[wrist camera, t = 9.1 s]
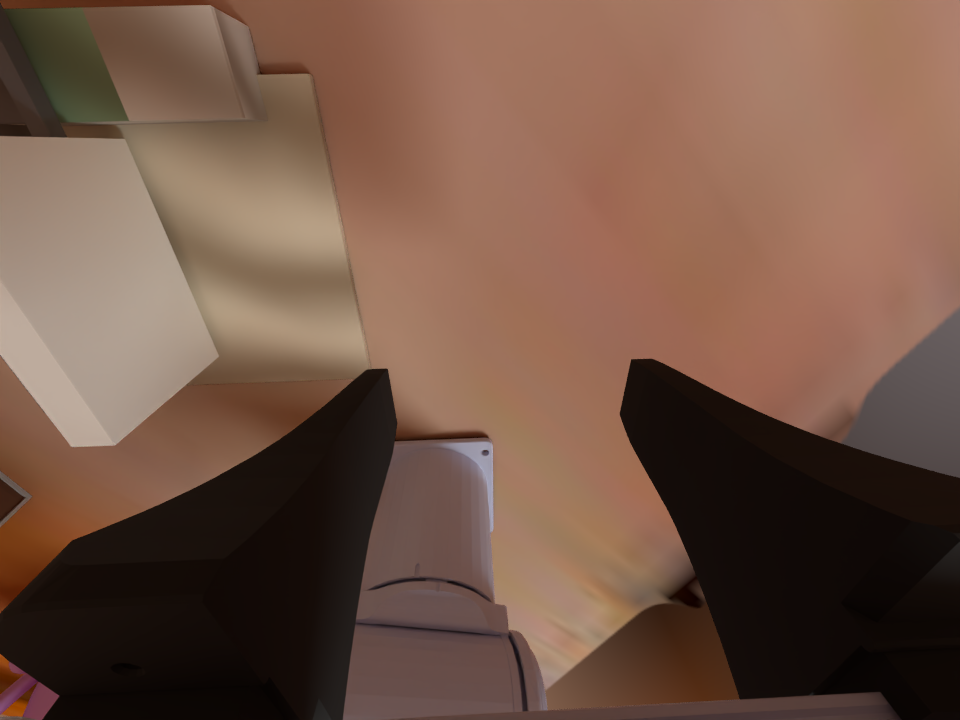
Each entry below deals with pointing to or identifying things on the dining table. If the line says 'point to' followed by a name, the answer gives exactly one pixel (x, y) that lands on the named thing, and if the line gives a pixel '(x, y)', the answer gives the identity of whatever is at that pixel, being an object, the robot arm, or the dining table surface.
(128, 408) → the pad
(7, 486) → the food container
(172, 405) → the dining table surface
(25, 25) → the frame
